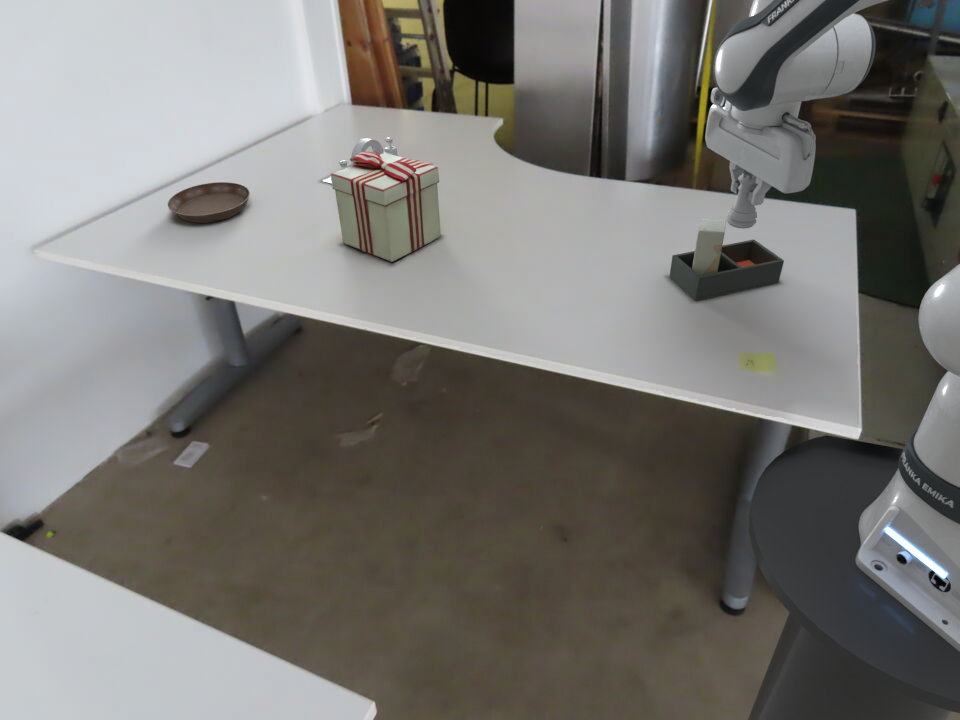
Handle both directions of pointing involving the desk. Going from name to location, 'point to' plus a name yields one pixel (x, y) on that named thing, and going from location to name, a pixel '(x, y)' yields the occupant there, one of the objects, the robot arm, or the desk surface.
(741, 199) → the rook chess piece
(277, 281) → the desk surface
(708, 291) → the divided tray
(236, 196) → the plant saucer
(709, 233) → the box
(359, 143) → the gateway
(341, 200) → the gift box
